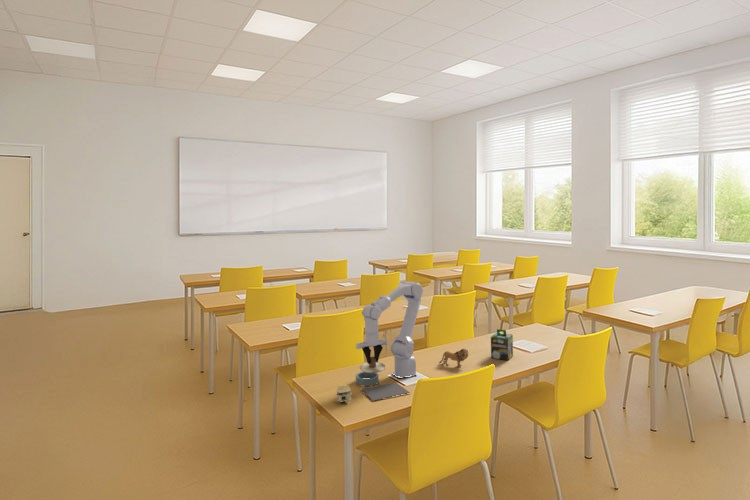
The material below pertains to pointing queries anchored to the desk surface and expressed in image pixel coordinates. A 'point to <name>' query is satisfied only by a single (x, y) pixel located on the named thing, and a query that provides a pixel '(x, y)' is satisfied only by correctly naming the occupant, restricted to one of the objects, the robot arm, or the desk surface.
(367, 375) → the bowl
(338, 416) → the desk surface
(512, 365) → the desk surface
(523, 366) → the desk surface
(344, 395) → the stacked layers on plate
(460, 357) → the lion figurine
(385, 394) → the mat
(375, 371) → the lid
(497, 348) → the chalk box
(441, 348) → the desk surface
